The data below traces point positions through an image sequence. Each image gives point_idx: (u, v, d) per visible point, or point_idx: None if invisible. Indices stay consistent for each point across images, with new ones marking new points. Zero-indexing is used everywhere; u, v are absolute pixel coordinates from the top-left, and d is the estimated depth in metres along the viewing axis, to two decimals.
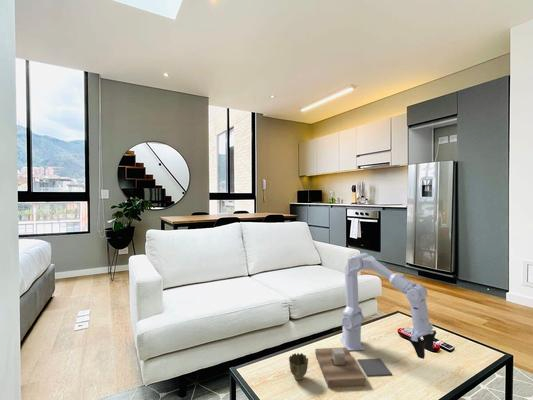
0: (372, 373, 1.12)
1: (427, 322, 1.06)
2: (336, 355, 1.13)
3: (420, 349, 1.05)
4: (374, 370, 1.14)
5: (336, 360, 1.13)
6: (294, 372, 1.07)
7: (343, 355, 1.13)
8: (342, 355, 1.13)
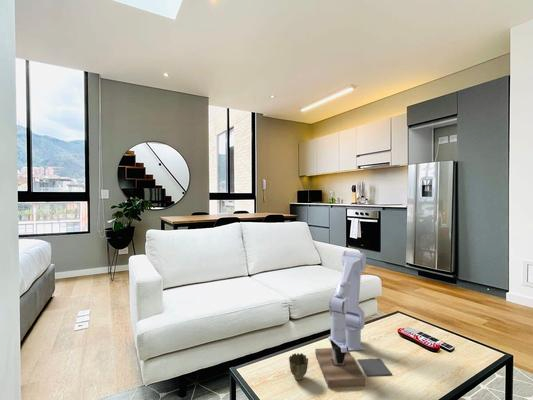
0: (372, 373, 1.12)
1: (331, 329, 1.15)
2: None
3: None
4: (374, 370, 1.14)
5: (336, 360, 1.13)
6: (294, 372, 1.07)
7: None
8: None
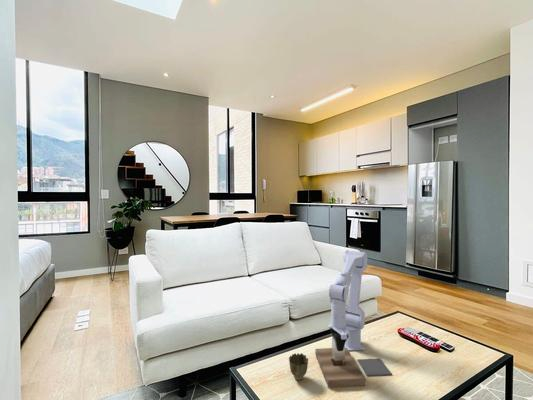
0: (372, 373, 1.12)
1: (331, 316, 1.14)
2: None
3: None
4: (374, 370, 1.14)
5: (336, 348, 1.13)
6: (294, 372, 1.07)
7: None
8: None
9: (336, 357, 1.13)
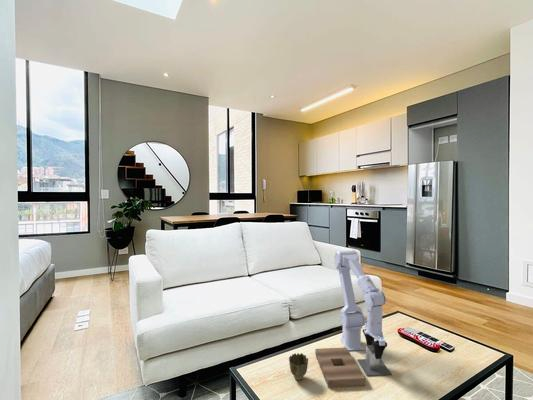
0: (372, 373, 1.12)
1: (367, 322, 1.16)
2: (371, 352, 1.14)
3: None
4: (374, 370, 1.14)
5: (371, 357, 1.14)
6: (294, 372, 1.07)
7: None
8: None
9: (371, 366, 1.14)
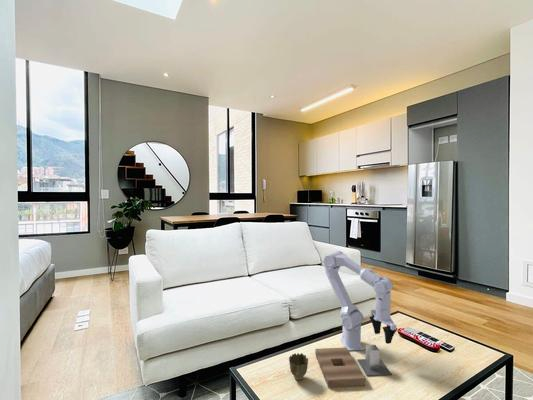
0: (372, 373, 1.12)
1: (376, 309, 1.20)
2: (371, 352, 1.14)
3: None
4: (374, 370, 1.14)
5: (371, 357, 1.14)
6: (294, 372, 1.07)
7: (378, 352, 1.14)
8: (377, 352, 1.14)
9: (371, 366, 1.14)
